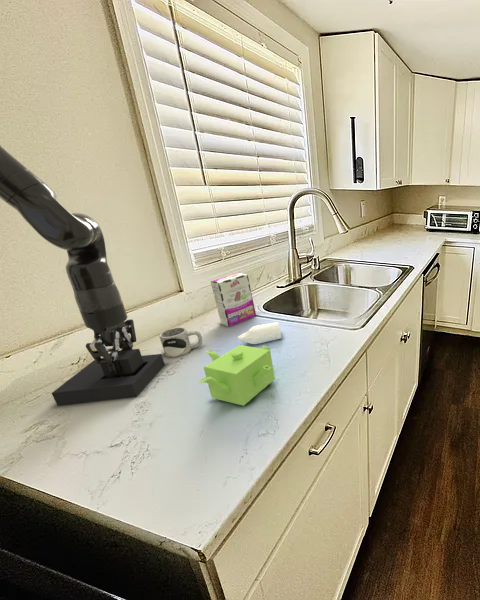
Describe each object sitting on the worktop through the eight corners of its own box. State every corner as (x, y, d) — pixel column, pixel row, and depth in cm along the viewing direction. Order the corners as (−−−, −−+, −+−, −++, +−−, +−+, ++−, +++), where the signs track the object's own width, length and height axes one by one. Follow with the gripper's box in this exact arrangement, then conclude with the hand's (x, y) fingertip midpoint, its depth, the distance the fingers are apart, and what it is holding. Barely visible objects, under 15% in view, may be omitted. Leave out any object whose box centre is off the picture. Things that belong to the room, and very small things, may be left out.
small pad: (104, 376, 78) (98, 361, 76) (117, 365, 82) (112, 351, 81) (132, 373, 79) (127, 358, 77) (143, 362, 83) (139, 348, 82)
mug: (163, 360, 92) (156, 339, 90) (167, 349, 98) (161, 329, 95) (203, 352, 96) (198, 332, 94) (205, 342, 102) (200, 323, 99)
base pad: (58, 407, 74) (51, 393, 72) (98, 373, 86) (93, 360, 85) (137, 398, 76) (132, 384, 75) (165, 366, 89) (161, 353, 88)
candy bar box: (248, 313, 123) (239, 272, 117) (256, 316, 120) (248, 273, 114) (220, 325, 114) (209, 280, 108) (228, 328, 111) (218, 282, 105)
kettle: (209, 422, 69) (197, 377, 65) (209, 386, 80) (199, 347, 76) (283, 399, 75) (275, 357, 71) (273, 370, 87) (266, 332, 83)
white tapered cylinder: (238, 343, 101) (234, 327, 99) (278, 334, 107) (275, 318, 105) (240, 351, 96) (236, 334, 94) (282, 341, 102) (279, 325, 100)
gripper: (102, 294, 80) (124, 354, 86) (57, 318, 67) (86, 387, 73) (136, 292, 81) (155, 351, 88) (99, 315, 68) (124, 383, 74)
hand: (124, 367), depth 80 cm, fingers closed on small pad, 5 cm apart
